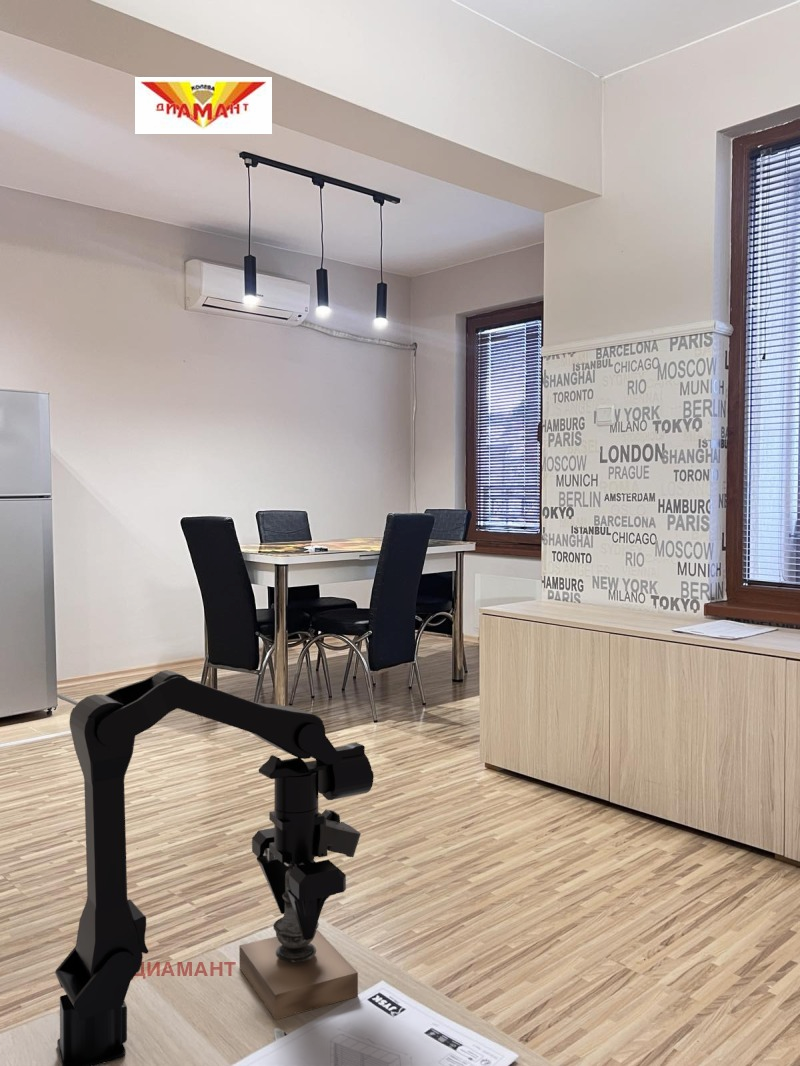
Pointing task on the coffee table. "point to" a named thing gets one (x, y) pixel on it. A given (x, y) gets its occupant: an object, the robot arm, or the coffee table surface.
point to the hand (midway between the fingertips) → (296, 925)
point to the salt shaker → (292, 933)
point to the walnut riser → (297, 976)
